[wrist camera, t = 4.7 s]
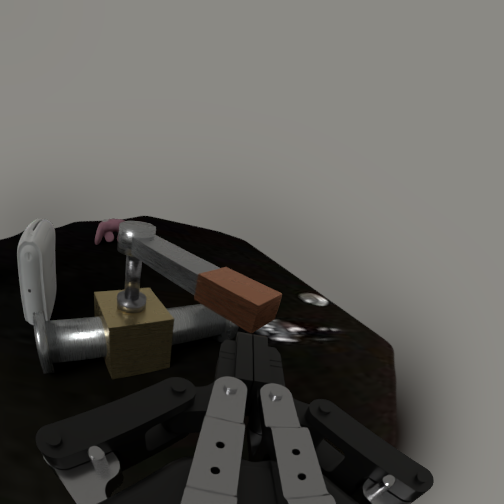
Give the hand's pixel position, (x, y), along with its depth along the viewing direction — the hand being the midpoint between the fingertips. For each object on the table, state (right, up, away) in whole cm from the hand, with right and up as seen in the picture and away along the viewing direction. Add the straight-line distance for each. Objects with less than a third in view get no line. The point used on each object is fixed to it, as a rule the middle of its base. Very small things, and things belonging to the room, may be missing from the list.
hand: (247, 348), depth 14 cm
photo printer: (-30, -3, +17) cm, 34 cm away
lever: (-6, +3, +9) cm, 11 cm away
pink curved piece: (-32, +7, +48) cm, 58 cm away
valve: (-14, -7, +16) cm, 22 cm away
